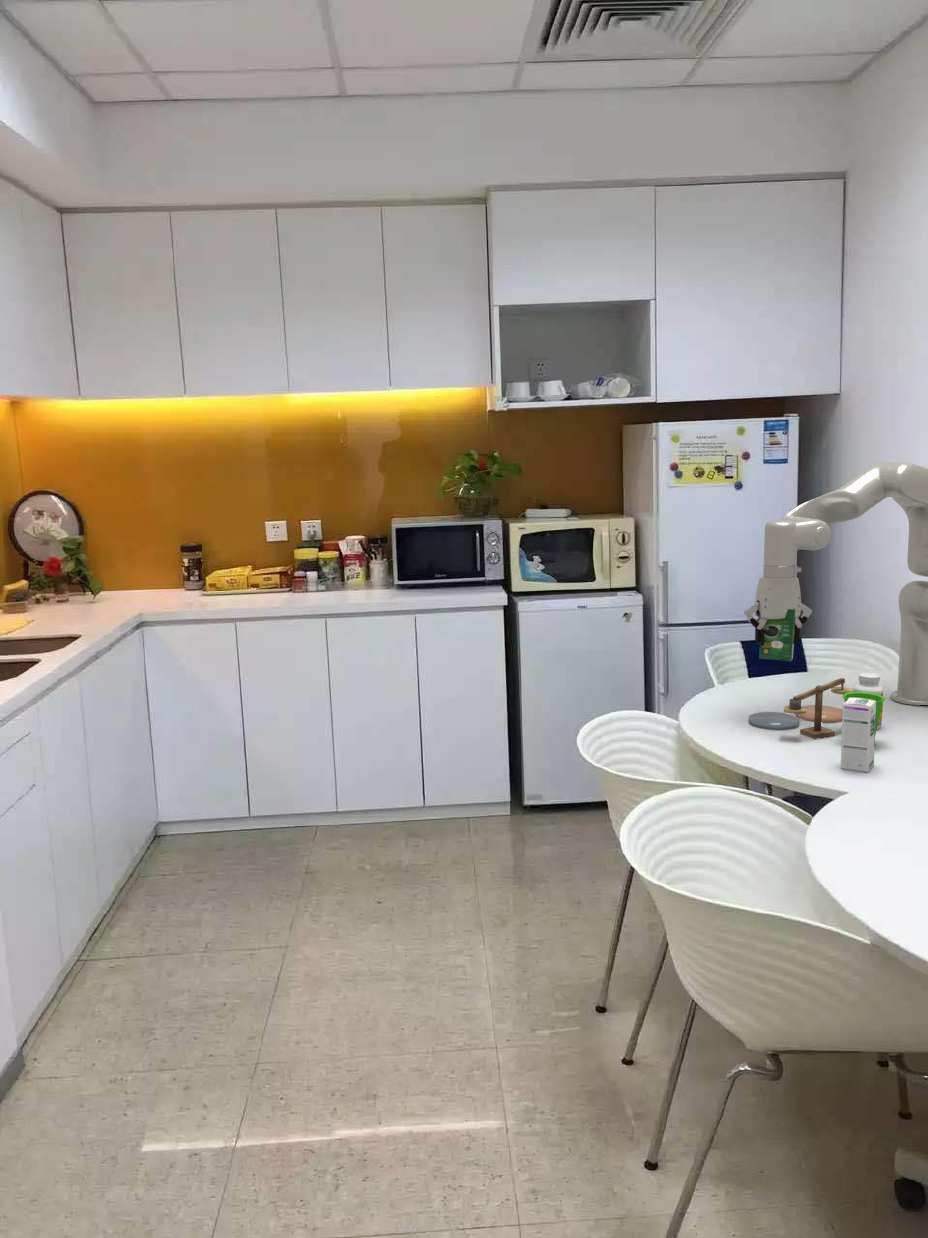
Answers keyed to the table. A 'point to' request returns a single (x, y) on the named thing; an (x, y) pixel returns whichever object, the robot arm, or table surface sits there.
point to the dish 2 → (828, 714)
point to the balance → (816, 707)
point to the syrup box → (858, 734)
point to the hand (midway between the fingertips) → (777, 643)
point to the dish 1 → (774, 721)
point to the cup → (866, 695)
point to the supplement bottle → (870, 688)
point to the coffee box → (779, 638)
